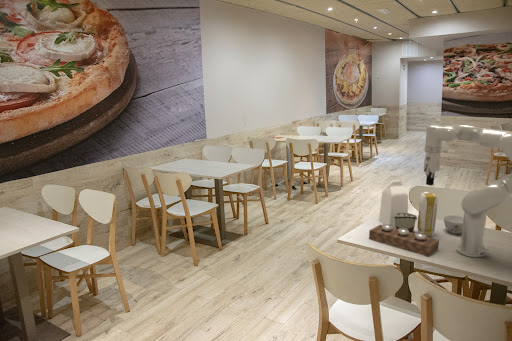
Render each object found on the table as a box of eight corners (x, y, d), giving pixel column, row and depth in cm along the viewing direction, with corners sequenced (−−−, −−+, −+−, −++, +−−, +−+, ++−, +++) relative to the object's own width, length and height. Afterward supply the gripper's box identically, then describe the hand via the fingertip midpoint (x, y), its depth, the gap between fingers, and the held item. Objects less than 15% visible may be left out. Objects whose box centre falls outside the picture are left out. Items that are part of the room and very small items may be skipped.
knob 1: (393, 237, 217) (394, 225, 216) (388, 239, 213) (389, 228, 212) (384, 234, 221) (385, 223, 219) (379, 237, 217) (380, 225, 216)
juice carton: (416, 230, 230) (419, 189, 224) (430, 231, 228) (434, 190, 223) (419, 236, 221) (423, 194, 215) (435, 237, 219) (439, 195, 214)
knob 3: (427, 246, 205) (428, 234, 203) (422, 249, 201) (423, 237, 200) (416, 243, 208) (417, 231, 207) (412, 246, 205) (413, 234, 203)
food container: (412, 229, 232) (414, 212, 229) (415, 233, 226) (417, 216, 223) (390, 228, 233) (391, 212, 231) (393, 232, 227) (394, 215, 225)
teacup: (439, 232, 226) (441, 219, 224) (445, 226, 235) (447, 213, 234) (469, 239, 217) (471, 225, 215) (474, 232, 226) (476, 219, 224)
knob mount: (438, 249, 204) (439, 239, 203) (428, 256, 196) (429, 246, 195) (379, 232, 226) (380, 224, 225) (368, 238, 218) (369, 230, 217)
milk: (389, 227, 235) (392, 184, 229) (378, 220, 246) (381, 179, 240) (407, 225, 238) (411, 182, 232) (396, 219, 248) (399, 178, 243)
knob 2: (409, 241, 211) (410, 229, 209) (405, 244, 207) (406, 232, 206) (400, 238, 214) (401, 227, 213) (395, 241, 211) (396, 229, 209)
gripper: (434, 152, 195) (431, 189, 199) (446, 148, 206) (442, 183, 210) (419, 150, 201) (416, 186, 205) (431, 146, 211) (428, 181, 215)
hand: (429, 184), depth 207 cm, fingers closed
